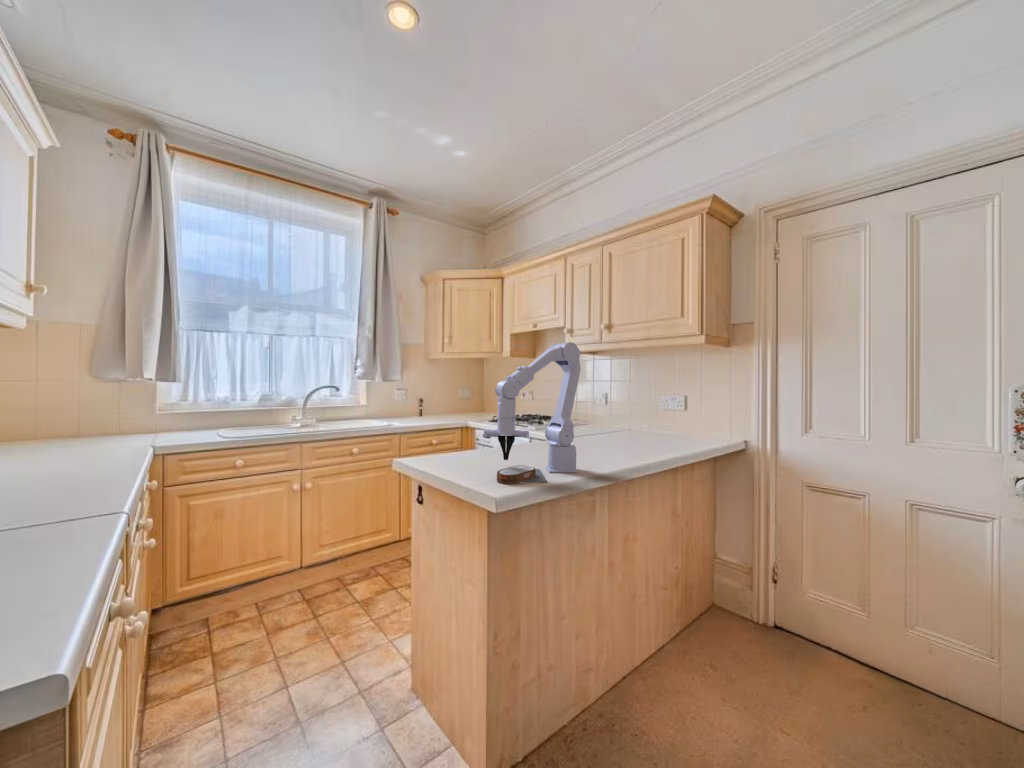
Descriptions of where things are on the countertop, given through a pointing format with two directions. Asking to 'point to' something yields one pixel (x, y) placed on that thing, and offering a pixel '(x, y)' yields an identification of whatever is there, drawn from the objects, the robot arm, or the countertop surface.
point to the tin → (516, 474)
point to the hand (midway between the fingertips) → (505, 459)
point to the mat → (537, 477)
